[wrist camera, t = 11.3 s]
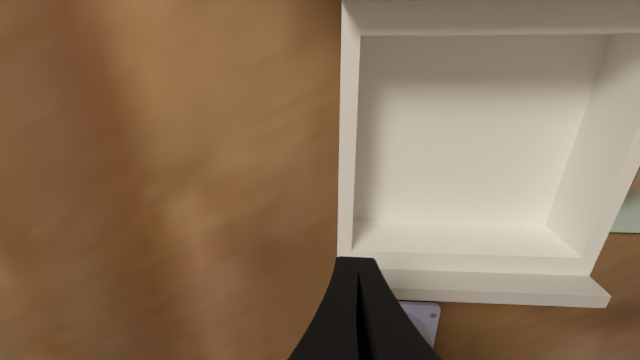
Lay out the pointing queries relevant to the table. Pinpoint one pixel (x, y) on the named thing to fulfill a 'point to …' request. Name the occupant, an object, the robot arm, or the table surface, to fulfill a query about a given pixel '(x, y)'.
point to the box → (487, 144)
